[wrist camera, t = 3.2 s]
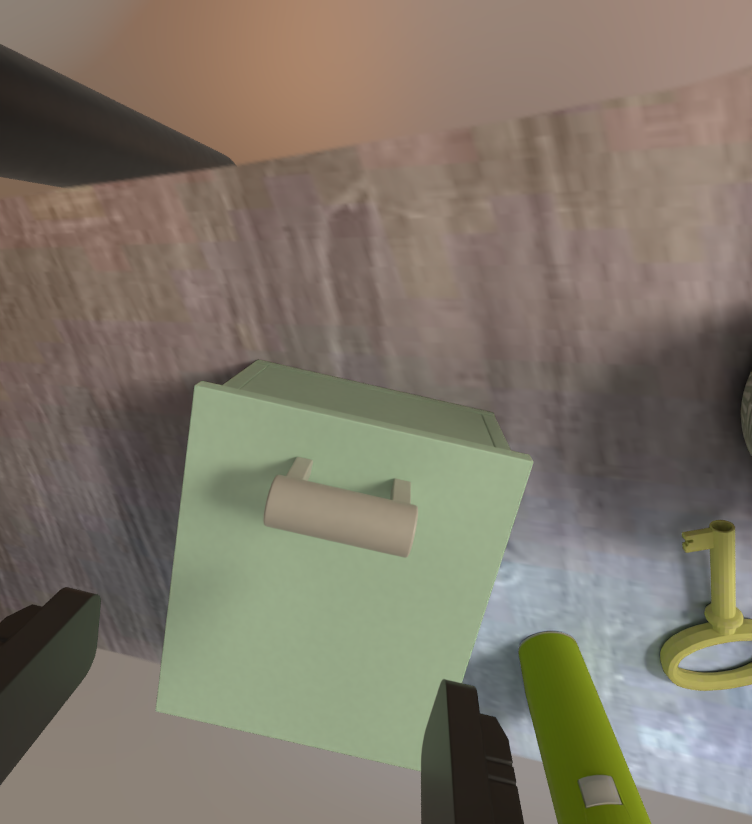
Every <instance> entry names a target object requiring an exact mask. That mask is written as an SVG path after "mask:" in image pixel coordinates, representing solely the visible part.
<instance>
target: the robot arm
mask: <svg viewBox="0 0 752 824" xmlns="http://www.w3.org/2000/svg"><path fill="white" fill-rule="evenodd" d="M100 605H101V599H100V596H99V595H98V594H93V593H89V592H85V591H81V590H77V589H73V588H68V587H65V588H63V589H61V590H60V591H59V592H58V593H57V594H56V595H54V596H53V597H52V598H51V599H50V600H49V601H48V602H47V603H46V604H45V605H44V606H43V607H41V606H37V605H33V604H32V605H30V606H28V607H26V608H24V609H22V610H20V611H18V612H16V613H14V614H12V615H10V616H8V617H6V618H5V619H4V620H3V621H2V622H0V785H1V784H2V782H3V781H4V780H5V779H6V777H7V776H8V775H9V774H10V772H11V771H12V770H13V768H14V767H15V766H16V765H17V763H18V762H19V761H20V760H21V758H22V757H23V756H24V754H25V753H26V752H27V751H28V749H29V748H30V747H31V746H32V744H33V743H34V742H35V740H36V739H37V738H38V737H39V735H40V734H41V733H42V731H43V730H44V729H45V727H46V726H47V725H48V724H49V723H50V721H51V720H52V719H53V717H54V716H55V715H56V714H57V712H58V711H59V710H60V708H61V707H62V706H63V704H64V703H65V702H66V701H67V700H68V698H69V697H70V696H71V694H72V693H73V692H74V691H75V689H76V688H77V687H78V686H79V684H80V683H81V682H82V680H83V679H84V677H85V676H86V675H87V673H88V671H89V669H90V667H91V665H92V663H93V660H94V657H95V653H96V649H97V638H98V627H99V616H100ZM512 763H513V762H512V756H511V751H510V746H509V740H508V738H507V736H506V734H505V733H504V731H503V729H502V728H501V726H500V724H499V722H498V721H497V719H496V717H493V716H489V715H484V714H480V710H479V703H478V696H477V690H476V687H475V686H471V685H467V684H463V683H459V682H455V681H450V680H446V679H443V680H442V681H441V683H440V686H439V689H438V692H437V695H436V698H435V701H434V704H433V708H432V711H431V714H430V717H429V720H428V723H427V726H426V730H425V734H424V738H423V744H422V752H421V824H524V821H523V815H522V810H521V805H520V800H519V794H518V789H517V786H516V778H515V773H514V768H513V767H512Z"/></svg>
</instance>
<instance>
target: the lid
mask: <svg viewBox="0 0 752 824" xmlns="http://www.w3.org/2000/svg"><path fill="white" fill-rule="evenodd" d="M532 465H533V460H532V459H531V457H530V455H528V454H523V453H519V452H515V451H510V450H506V449H501V448H497V447H493V446H488V445H484V444H479V443H475V442H470V441H466V440H462V439H457V438H453V437H448V436H444V435H439V434H435V433H431V432H426V431H422V430H417V429H413V428H408V427H404V426H400V425H395V424H391V423H386V422H382V421H377V420H373V419H369V418H364V417H360V416H355V415H351V414H347V413H342V412H338V411H333V410H329V409H324V408H320V407H316V406H311V405H307V404H302V403H298V402H293V401H289V400H285V399H280V398H276V397H271V396H267V395H262V394H258V393H254V392H249V391H245V390H240V389H236V388H232V387H227V386H223V385H218V384H214V383H209V382H205V381H201V382H199V383H198V384H196V385H195V386H194V393H193V402H192V410H191V418H190V427H189V435H188V443H187V452H186V460H185V468H184V477H183V485H182V494H181V502H180V510H179V519H178V527H177V535H176V544H175V552H174V560H173V569H172V577H171V585H170V594H169V602H168V610H167V619H166V627H165V635H164V644H163V652H162V660H161V669H160V678H159V686H158V694H157V703H156V711H157V712H161V713H165V714H170V715H174V716H179V717H183V718H188V719H192V720H196V721H201V722H205V723H210V724H214V725H219V726H223V727H227V728H231V729H236V730H240V731H245V732H249V733H253V734H258V735H263V736H267V737H272V738H276V739H280V740H284V741H289V742H293V743H298V744H302V745H307V746H311V747H315V748H320V749H324V750H328V751H333V752H337V753H342V754H346V755H350V756H355V757H359V758H364V759H368V760H372V761H377V762H381V763H386V764H390V765H394V766H399V767H403V768H408V769H412V770H416V771H421V752H422V744H423V738H424V734H425V730H426V726H427V723H428V720H429V717H430V714H431V711H432V708H433V704H434V701H435V698H436V695H437V692H438V689H439V686H440V683H441V681H442V680H443V679H446V680H450V681H455V682H459V683H462V681H463V678H464V674H465V671H466V668H467V665H468V662H469V659H470V656H471V653H472V650H473V647H474V644H475V641H476V638H477V634H478V631H479V628H480V625H481V622H482V619H483V616H484V613H485V610H486V607H487V604H488V601H489V597H490V594H491V591H492V588H493V585H494V582H495V579H496V576H497V573H498V570H499V567H500V564H501V561H502V557H503V554H504V551H505V548H506V545H507V542H508V539H509V536H510V533H511V530H512V527H513V524H514V521H515V517H516V514H517V511H518V508H519V505H520V502H521V499H522V496H523V493H524V490H525V487H526V484H527V481H528V477H529V474H530V471H531V468H532Z"/></svg>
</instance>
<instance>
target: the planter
mask: <svg viewBox="0 0 752 824" xmlns="http://www.w3.org/2000/svg"><path fill="white" fill-rule="evenodd" d="M741 424H742V430H743V435H744V439H745V442H746V445H747V448H748V450H749V452H750V454H751V456H752V371H751V373H750V375H749V378H748V380H747V383H746V386H745V389H744V393H743V398H742V404H741Z"/></svg>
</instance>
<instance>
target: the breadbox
mask: <svg viewBox="0 0 752 824" xmlns="http://www.w3.org/2000/svg"><path fill="white" fill-rule="evenodd" d="M223 386H227V387H232V388H236V389H240V390H245V391H249V392H254V393H258V394H262V395H267V396H271V397H276V398H280V399H285V400H289V401H293V402H298V403H302V404H307V405H311V406H316V407H320V408H324V409H329V410H333V411H338V412H342V413H347V414H351V415H355V416H360V417H364V418H369V419H373V420H377V421H382V422H386V423H391V424H395V425H400V426H404V427H408V428H413V429H417V430H422V431H426V432H431V433H435V434H439V435H444V436H448V437H453V438H457V439H462V440H466V441H470V442H475V443H479V444H484V445H488V446H493V447H497V448H501V449H506V450H510V448H509V445H508V443H507V441H506V439H505V437H504V435H503V433H502V431H501V429H500V427H499V425H498V422H497V420H496V418H495V415H494V413H492V412H488V411H484V410H479V409H475V408H470V407H466V406H461V405H457V404H453V403H448V402H444V401H439V400H435V399H430V398H426V397H422V396H417V395H413V394H408V393H404V392H400V391H395V390H391V389H386V388H382V387H377V386H373V385H369V384H364V383H360V382H355V381H351V380H346V379H342V378H338V377H333V376H329V375H324V374H320V373H315V372H311V371H307V370H302V369H298V368H293V367H289V366H284V365H280V364H276V363H271V362H267V361H262V360H257V361H255V362H254V363H253V364H251V365H250V366H248V367H247V368H246V369H244V370H243V371H241V372H240V373H239V374H237V375H236V376H234V377H233V378H232V379H230V380H229V381H227V382H226V383H224V384H223ZM510 451H511V450H510Z"/></svg>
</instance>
